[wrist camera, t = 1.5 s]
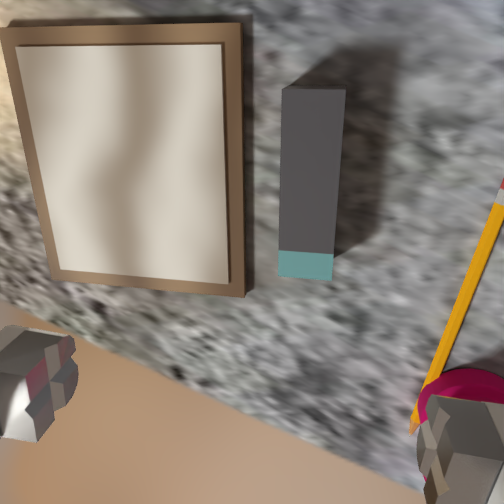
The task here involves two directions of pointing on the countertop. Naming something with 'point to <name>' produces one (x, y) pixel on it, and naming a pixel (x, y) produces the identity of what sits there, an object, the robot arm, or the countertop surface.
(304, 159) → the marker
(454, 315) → the pencil
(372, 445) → the countertop surface
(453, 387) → the pepper mill
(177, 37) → the board
